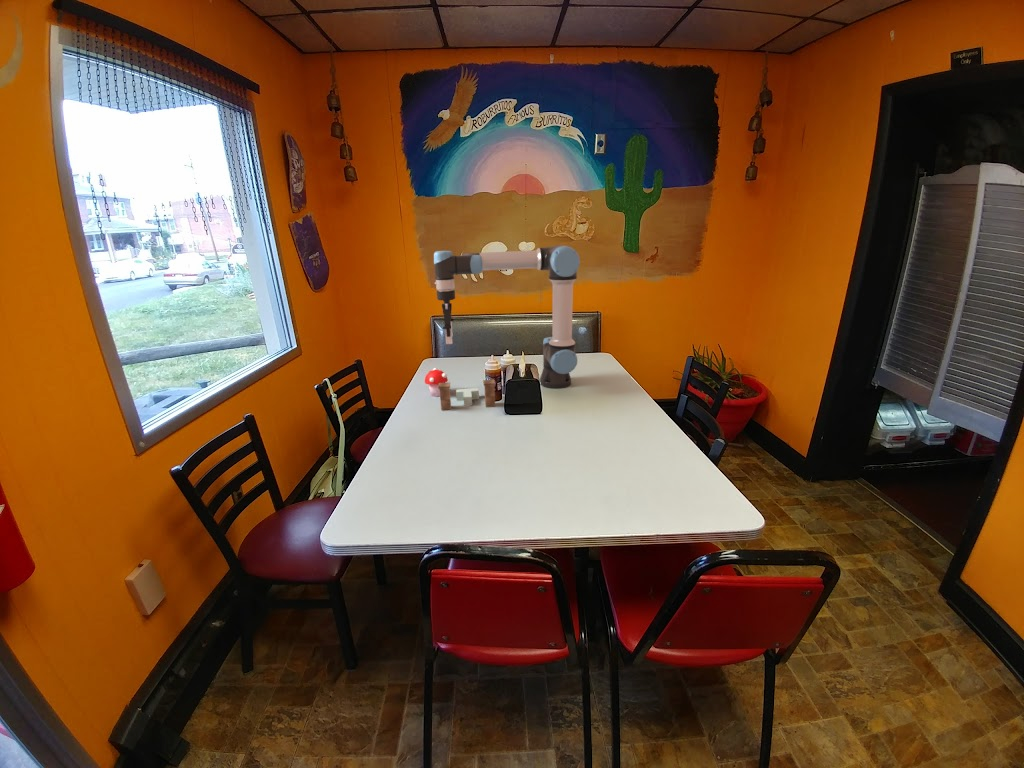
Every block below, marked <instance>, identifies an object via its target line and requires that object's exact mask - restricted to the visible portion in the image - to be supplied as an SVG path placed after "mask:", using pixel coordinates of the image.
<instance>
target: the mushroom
mask: <svg viewBox="0 0 1024 768" xmlns="http://www.w3.org/2000/svg"><path fill="white" fill-rule="evenodd" d="M448 382H449V380H448V374H447V373H446V372H444V371H443V370H441V369H440V370H439V369H438V368H436V367H434V368H433V369H432V370H429V371H428V373H427V374H426V375H425V377H424V383H425V385H428V388H429V389H428V390H429V393H430V395H431V397H436V398H438V397H440V389H438V385H439V383H448Z"/></svg>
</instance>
